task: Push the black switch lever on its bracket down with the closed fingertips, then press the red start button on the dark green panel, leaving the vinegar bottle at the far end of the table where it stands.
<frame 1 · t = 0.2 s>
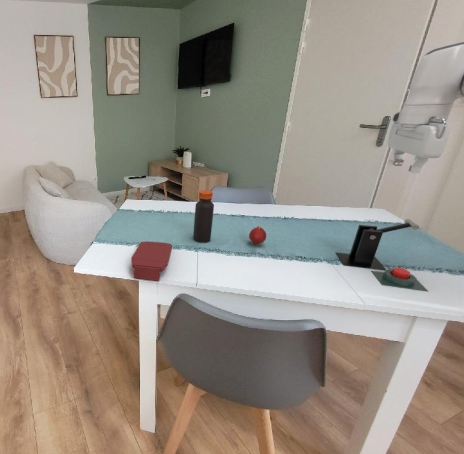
hand: (404, 168, 81), 32 cm above the table, tool pointing down, fingers open, 8 cm apart
vinegar: (201, 239, 118), on the table
switch lever: (388, 229, 89), point 13 cm above the table, hinge at 25.0°
button panel: (396, 283, 85), on the table
switch bracket: (358, 263, 96), on the table
red lidded container: (152, 261, 104), on the table
onion: (256, 245, 112), on the table
start button: (400, 273, 84), point 3 cm above the table, slide at 0.1 cm
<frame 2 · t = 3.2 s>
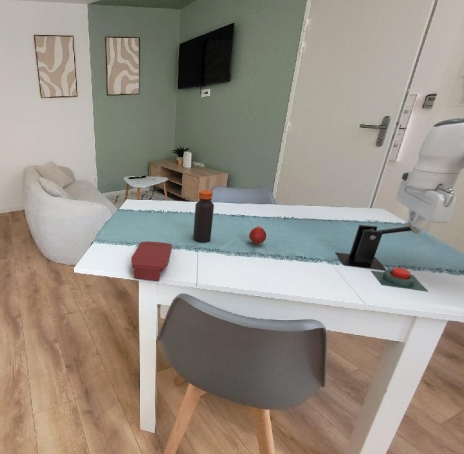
hand: (413, 225, 86), 15 cm above the table, tool pointing down, fingers closed, pressing on switch lever
switch lever: (388, 231, 89), point 12 cm above the table, hinge at 17.2°, touching gripper
everything else where it was.
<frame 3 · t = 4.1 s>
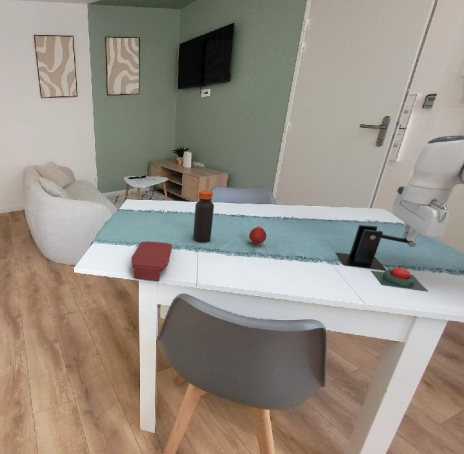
hand: (407, 238, 88), 10 cm above the table, tool pointing down, fingers closed, pressing on switch lever
switch lever: (387, 237, 90), point 10 cm above the table, hinge at -7.8°, touching gripper
everything else where it was.
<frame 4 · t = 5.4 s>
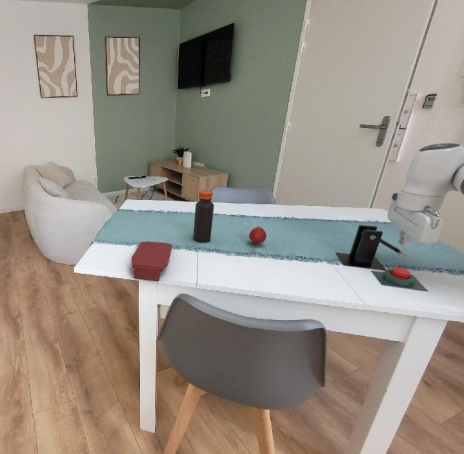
hand: (403, 244, 89), 8 cm above the table, tool pointing down, fingers closed
switch lever: (382, 241, 91), point 9 cm above the table, hinge at -30.1°
everything else where it was.
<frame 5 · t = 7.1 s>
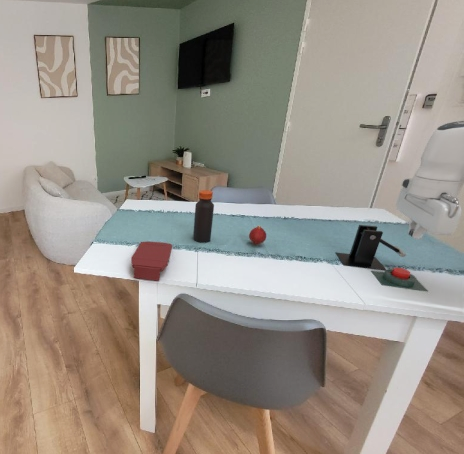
hand: (413, 236, 80), 15 cm above the table, tool pointing down, fingers closed
nothing on the table moved.
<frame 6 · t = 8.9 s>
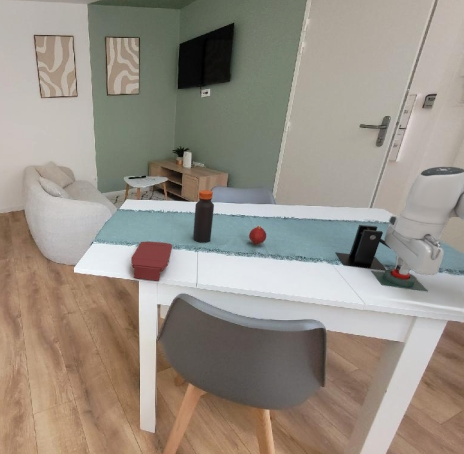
hand: (400, 272, 83), 4 cm above the table, tool pointing down, fingers closed, pressing on start button
start button: (400, 274, 84), point 3 cm above the table, slide at -0.4 cm, touching gripper
everything else where it was.
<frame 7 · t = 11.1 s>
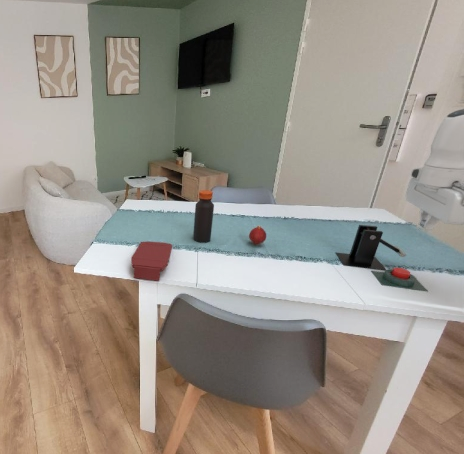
hand: (425, 227, 78), 18 cm above the table, tool pointing down, fingers closed
start button: (400, 273, 84), point 3 cm above the table, slide at 0.1 cm
everything else where it was.
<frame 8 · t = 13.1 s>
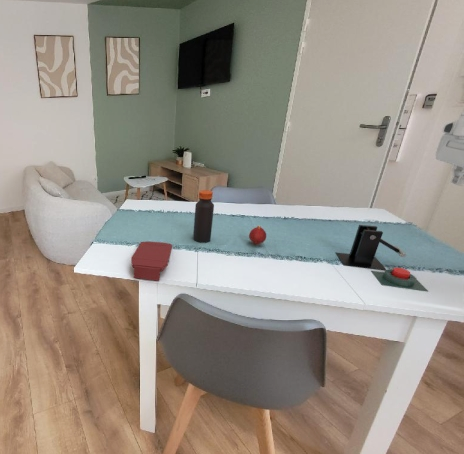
hand: (458, 184, 75), 29 cm above the table, tool pointing down, fingers closed
nothing on the table moved.
at the end: switch lever at -30° (first picture: +25°); start button pushed in 1.1 cm at the most during the clip, back to where it started at the end; vinegar moved 0.2 cm from its start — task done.
